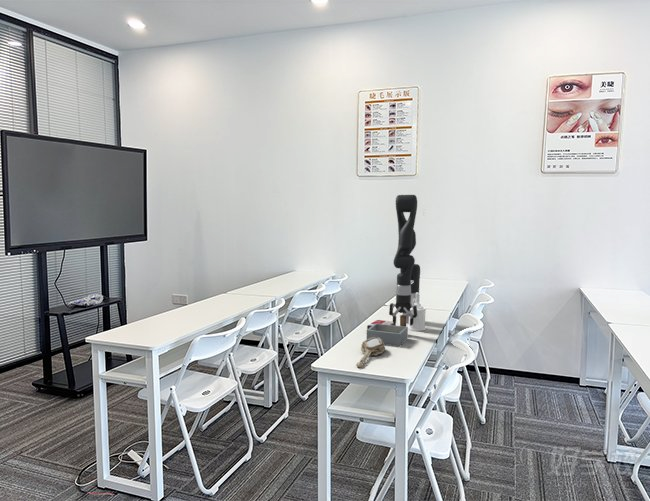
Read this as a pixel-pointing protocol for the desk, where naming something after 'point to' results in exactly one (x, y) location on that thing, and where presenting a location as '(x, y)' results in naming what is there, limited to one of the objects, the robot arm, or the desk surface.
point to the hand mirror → (371, 349)
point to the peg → (403, 320)
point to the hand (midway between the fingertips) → (402, 324)
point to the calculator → (380, 323)
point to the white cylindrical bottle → (418, 316)
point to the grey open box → (388, 333)
